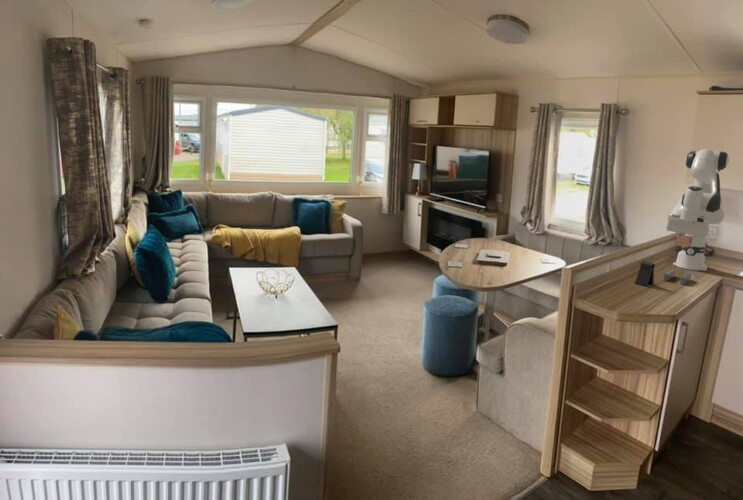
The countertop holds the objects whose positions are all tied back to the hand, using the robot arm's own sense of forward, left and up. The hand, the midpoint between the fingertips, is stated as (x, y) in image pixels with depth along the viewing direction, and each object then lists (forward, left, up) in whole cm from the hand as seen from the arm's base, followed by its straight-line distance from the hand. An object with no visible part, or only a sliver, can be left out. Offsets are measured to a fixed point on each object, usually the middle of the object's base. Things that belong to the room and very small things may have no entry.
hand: (684, 241), depth 305 cm
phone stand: (+22, -11, -23) cm, 34 cm away
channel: (-4, -1, -23) cm, 23 cm away
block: (+1, 0, -2) cm, 2 cm away
